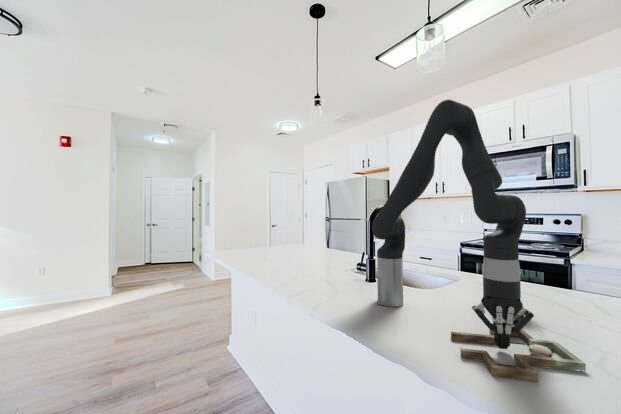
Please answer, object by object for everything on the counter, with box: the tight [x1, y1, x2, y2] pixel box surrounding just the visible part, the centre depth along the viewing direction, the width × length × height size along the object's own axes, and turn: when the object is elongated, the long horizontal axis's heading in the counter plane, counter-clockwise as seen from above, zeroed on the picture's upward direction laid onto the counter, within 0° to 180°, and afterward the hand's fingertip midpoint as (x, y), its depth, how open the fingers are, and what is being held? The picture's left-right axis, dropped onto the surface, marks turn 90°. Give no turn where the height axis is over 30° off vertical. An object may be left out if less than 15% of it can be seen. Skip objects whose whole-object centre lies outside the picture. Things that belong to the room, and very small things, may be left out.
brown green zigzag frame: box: [450, 328, 587, 383], centre depth 66 cm, size 24×23×2 cm
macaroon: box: [528, 344, 553, 358], centre depth 65 cm, size 4×5×2 cm
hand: (502, 347), depth 67 cm, fingers closed
